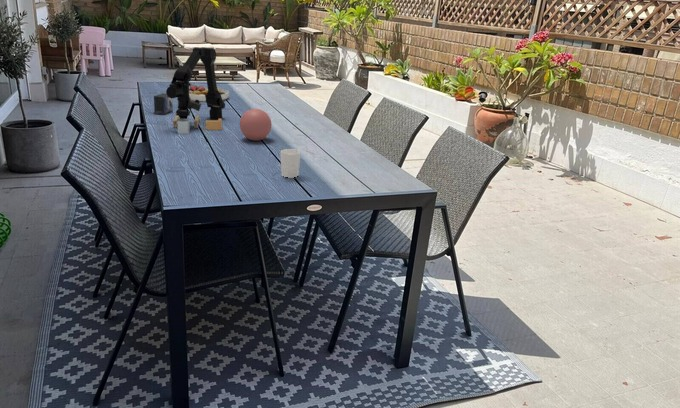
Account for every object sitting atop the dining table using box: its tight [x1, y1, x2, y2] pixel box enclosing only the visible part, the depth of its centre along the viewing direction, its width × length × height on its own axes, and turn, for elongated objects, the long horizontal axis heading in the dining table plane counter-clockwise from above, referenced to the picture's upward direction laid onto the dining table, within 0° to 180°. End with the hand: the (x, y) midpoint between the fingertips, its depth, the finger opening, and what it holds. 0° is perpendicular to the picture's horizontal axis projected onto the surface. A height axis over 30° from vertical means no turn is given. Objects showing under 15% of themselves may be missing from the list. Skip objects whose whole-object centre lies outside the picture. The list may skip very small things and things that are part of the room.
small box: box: [153, 93, 174, 116], centre depth 310 cm, size 11×6×10 cm, turn 168°
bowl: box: [189, 84, 230, 103], centre depth 361 cm, size 30×30×8 cm
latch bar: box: [205, 118, 223, 131], centre depth 280 cm, size 8×2×6 cm, turn 100°
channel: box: [172, 114, 200, 129], centre depth 288 cm, size 12×16×4 cm
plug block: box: [177, 117, 191, 135], centre depth 272 cm, size 5×8×6 cm, turn 10°
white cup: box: [280, 148, 302, 179], centre depth 214 cm, size 8×8×10 cm
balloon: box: [239, 108, 272, 142], centre depth 265 cm, size 15×20×15 cm
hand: (184, 126), depth 278 cm, fingers closed
